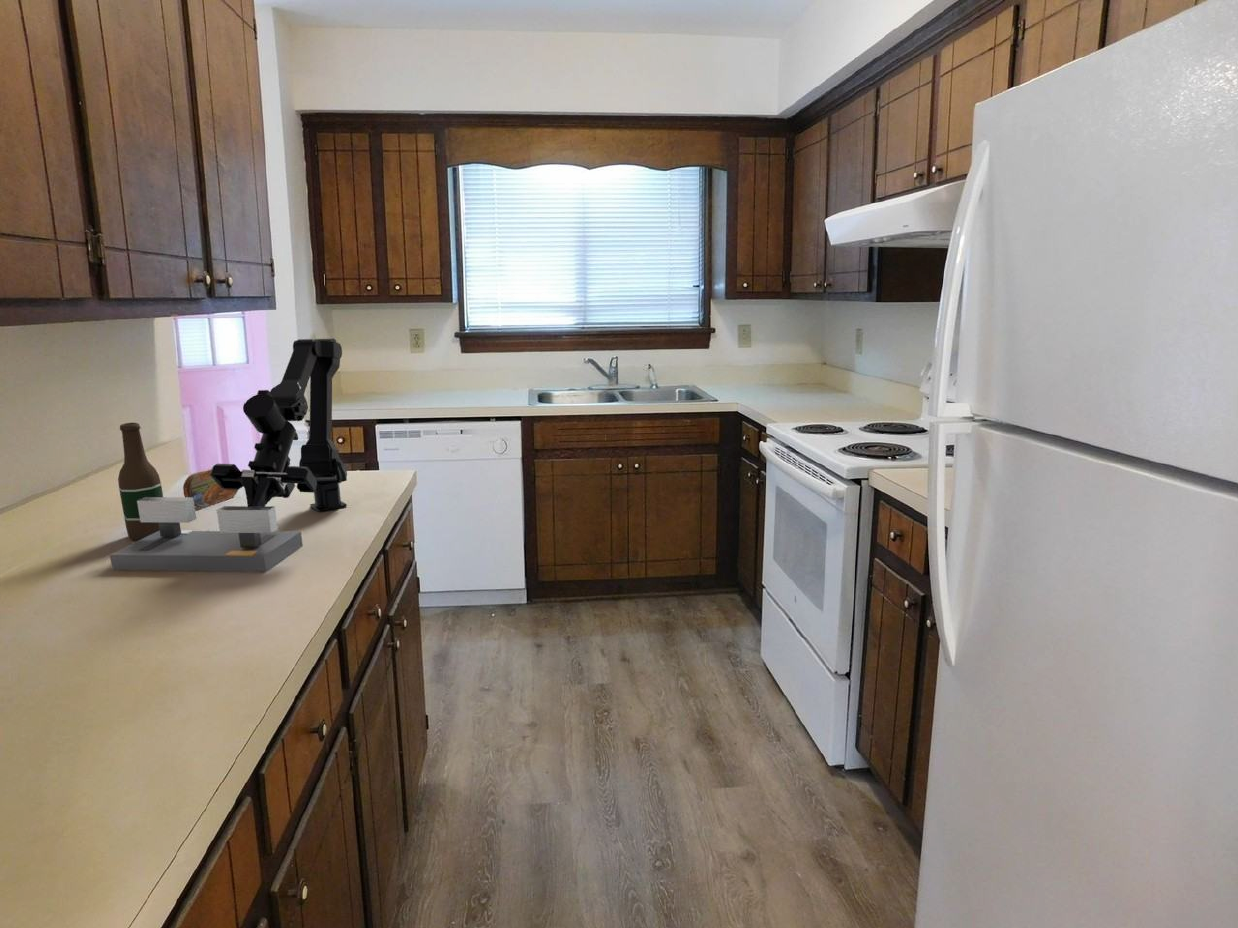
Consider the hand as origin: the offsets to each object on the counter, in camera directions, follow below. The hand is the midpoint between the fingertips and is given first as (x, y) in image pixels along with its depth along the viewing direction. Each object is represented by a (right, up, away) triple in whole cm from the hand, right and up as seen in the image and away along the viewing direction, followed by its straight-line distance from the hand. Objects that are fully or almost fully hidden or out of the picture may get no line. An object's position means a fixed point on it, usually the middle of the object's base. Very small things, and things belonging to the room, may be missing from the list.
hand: (251, 516), depth 149 cm
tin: (-29, 0, +42) cm, 51 cm away
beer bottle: (-30, -5, +18) cm, 36 cm away
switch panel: (-10, -8, +4) cm, 13 cm away
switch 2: (0, -6, 0) cm, 6 cm away
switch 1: (-19, -4, +7) cm, 21 cm away
